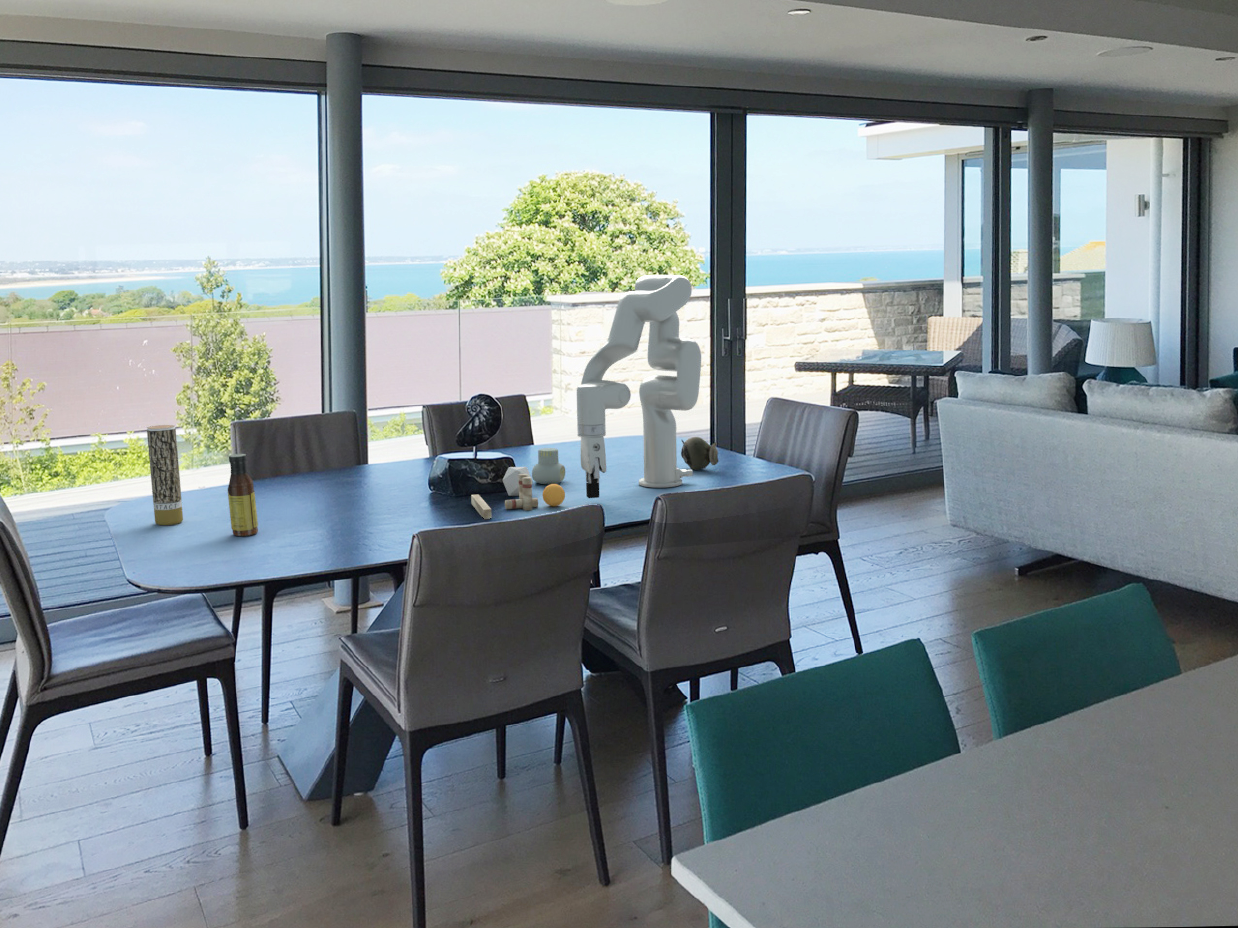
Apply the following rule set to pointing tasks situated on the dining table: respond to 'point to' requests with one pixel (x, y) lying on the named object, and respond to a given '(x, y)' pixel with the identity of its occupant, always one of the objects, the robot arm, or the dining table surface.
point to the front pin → (519, 503)
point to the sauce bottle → (241, 498)
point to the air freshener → (548, 467)
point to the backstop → (481, 506)
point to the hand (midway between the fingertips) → (592, 497)
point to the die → (514, 479)
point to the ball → (553, 495)
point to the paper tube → (165, 474)
